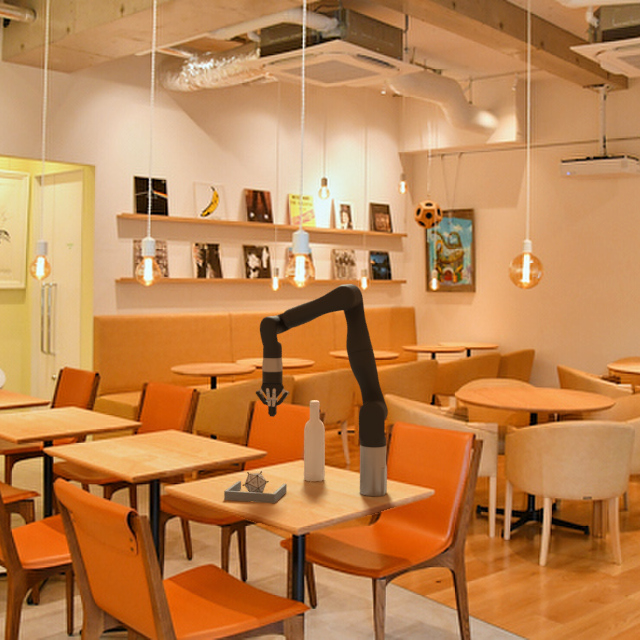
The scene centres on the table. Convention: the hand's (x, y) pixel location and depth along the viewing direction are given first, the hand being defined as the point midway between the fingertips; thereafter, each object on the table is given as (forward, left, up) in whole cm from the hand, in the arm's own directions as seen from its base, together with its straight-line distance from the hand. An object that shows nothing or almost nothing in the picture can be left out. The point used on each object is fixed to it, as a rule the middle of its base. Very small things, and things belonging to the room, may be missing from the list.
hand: (272, 416), depth 312 cm
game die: (+1, +18, -25) cm, 31 cm away
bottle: (-14, -9, -25) cm, 30 cm away
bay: (0, +20, -25) cm, 32 cm away
